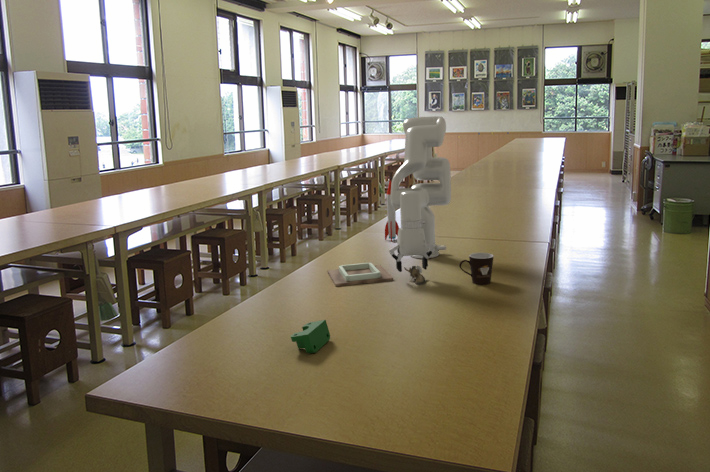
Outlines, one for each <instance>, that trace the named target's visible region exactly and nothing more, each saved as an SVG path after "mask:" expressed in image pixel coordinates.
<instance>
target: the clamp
mask: <svg viewBox="0 0 710 472" xmlns="http://www.w3.org/2000/svg"><path fill="white" fill-rule="evenodd" d="M301 329H302V330H301V331H298V332H294V333H292V334H291V335H290V339H291V342H293V343H296V346H297V349H298V348H305V349H304V350H305V352H306V354H308V353H309V354H315V353H318V351H319V350H320V349H322V348H323V346H325V345H326V343H328V342H329V341H330V340H331V333H330V330H329V326H328V323H327V320H326V319H322V320H317V321H316V320H315V321H310V322H307V323H305V324H304V325H303V326H301Z"/></svg>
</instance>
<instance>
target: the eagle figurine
mask: <svg viewBox="0 0 710 472" xmlns="http://www.w3.org/2000/svg"><path fill="white" fill-rule="evenodd" d="M404 270H405V271H406V272H408V273H409V276H410V279H409V282H410V283H411V282H412V281H413V280H414V279H415V282H414V285H418V286H421V285H424V284H425V283H426V278H425V276H424V275H423V274H422V273H423V270H422V267H421V266H420V265H412V266H411V267H409V269H407V267H404Z"/></svg>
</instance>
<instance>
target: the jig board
mask: <svg viewBox="0 0 710 472" xmlns="http://www.w3.org/2000/svg"><path fill="white" fill-rule="evenodd" d="M327 274H328V276H329V278H330V280H331V281H332V283H333V284H334V286H335V287H344V286H353V285H363V284H373V283H381V282H382V283H383V282H389V281H391V282H392V281H394V277H393V276H392V275H391V274H390V273H389V272H388V271H387V270H386V269H385V268H384V267H383V266H382V265H381V264H377V265H375V264H373V263H372V262H361V263H359V262H358V263H352V264H341V265H339V266H338V268H335V269H327Z"/></svg>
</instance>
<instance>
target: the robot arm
mask: <svg viewBox="0 0 710 472" xmlns="http://www.w3.org/2000/svg"><path fill="white" fill-rule="evenodd" d="M402 129H403V132H404V134H405V140H404V158H403V159H404V161H403V164H402V165H400V167H398V169H396V171H395V173H394V175H393V177H392V179H391V182H392V183H391V204H392V206H393V207H395V209H400V227H399V230H398V237H397V236H396V238H397V239H396V245H394V246H392V247H391V248H389V249H388V252H389V254H390V256H391V258H393V259H394V260H395V266H396V269H397V271H398V272H399V273H401V272H403V266H402V258H403V257H408V256H410V257H412V258H415V259H421V261H422V263H421V264H422V265H421V266H422V267H421V269H422V268H423V270H428V266H429V264H428V263H429V262H428V260H429V259H432V258H437V257H439V255H440V251H445V250H447V246H446V245H441V244H439V245H438V244H436V225H435V224H436V223H435V221H436V220H435V219H436V218H435V213H434V212H433V210H432V209H431V207H432V206H434V207H435V206H447V205H449V204H450V202H451V200H452V179H451V177H452V173H451V163H450V161H449V159H448V158H446V157H442V156H440V157H437V156H436V157H433V148H437V147H441V146H442V145H443V143H444V139H445V136H446V135H445V134H446V130H447V124H446V119H445V118H444V117H443V116H436V115H435V116H417V117H409V118H405V120H404V121H403V122H402ZM410 175H412V176H413V178H414V179H415V180H416V181H438V183H437V182H434V183H433V182H432V183H431V182H430V183H429V182H422V183H416V184H413V185H412V186H411V187H410V188H407V187H403V188H400V185H401V183H402V181H403V180H404V179H405V178H407V177H408V176H410ZM395 252H397V255H396V254H395Z"/></svg>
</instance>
